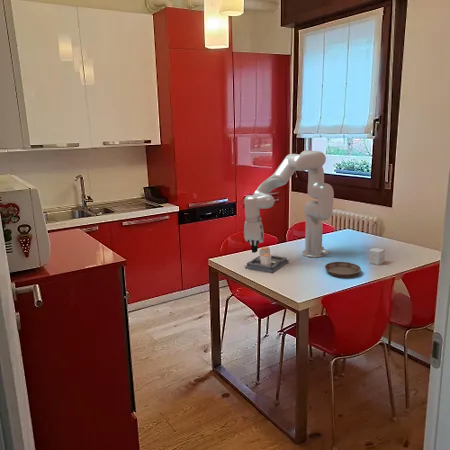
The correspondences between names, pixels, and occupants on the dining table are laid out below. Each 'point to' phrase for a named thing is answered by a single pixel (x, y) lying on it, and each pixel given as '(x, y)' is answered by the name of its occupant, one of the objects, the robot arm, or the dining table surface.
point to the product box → (376, 256)
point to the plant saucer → (342, 269)
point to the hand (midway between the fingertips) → (254, 251)
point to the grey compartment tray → (275, 265)
